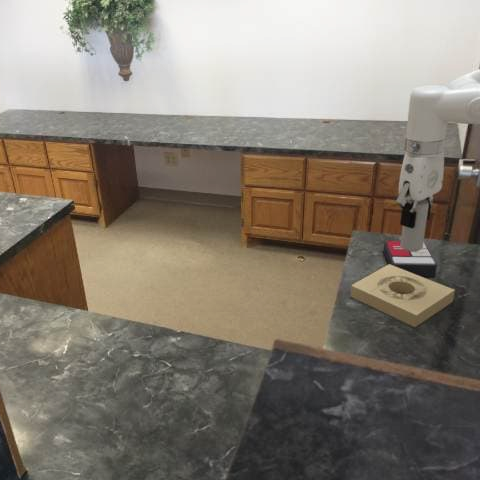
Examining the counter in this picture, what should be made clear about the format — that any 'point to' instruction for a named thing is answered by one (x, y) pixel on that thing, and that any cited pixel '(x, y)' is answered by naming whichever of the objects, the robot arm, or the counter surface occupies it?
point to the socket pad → (402, 305)
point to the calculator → (410, 259)
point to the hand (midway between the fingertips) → (414, 221)
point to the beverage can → (415, 228)
